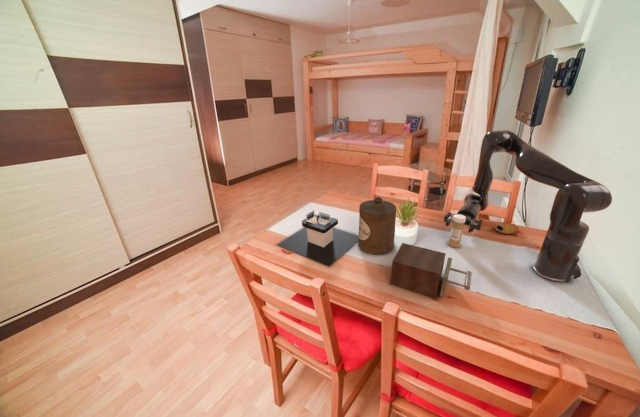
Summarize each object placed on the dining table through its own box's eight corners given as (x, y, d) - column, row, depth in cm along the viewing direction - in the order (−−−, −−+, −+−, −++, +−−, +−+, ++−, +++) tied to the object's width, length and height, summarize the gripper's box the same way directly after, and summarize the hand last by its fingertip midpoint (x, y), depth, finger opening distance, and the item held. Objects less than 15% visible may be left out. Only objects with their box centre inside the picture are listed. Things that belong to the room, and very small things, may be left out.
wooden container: (357, 236, 120) (358, 191, 111) (390, 236, 119) (393, 190, 110) (359, 254, 106) (361, 205, 97) (396, 255, 105) (401, 205, 96)
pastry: (509, 226, 123) (512, 218, 121) (522, 233, 117) (524, 225, 115) (492, 228, 121) (494, 221, 120) (504, 235, 115) (506, 228, 114)
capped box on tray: (362, 237, 119) (363, 210, 113) (329, 266, 100) (328, 236, 94) (313, 221, 134) (312, 197, 129) (277, 244, 115) (273, 217, 110)
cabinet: (441, 275, 93) (445, 253, 89) (435, 298, 83) (440, 274, 79) (400, 264, 100) (402, 242, 96) (390, 284, 90) (392, 261, 86)
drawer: (468, 282, 88) (473, 263, 85) (466, 304, 79) (471, 284, 76) (408, 265, 97) (410, 247, 94) (400, 284, 88) (402, 265, 85)
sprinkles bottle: (462, 245, 110) (468, 216, 104) (455, 249, 107) (462, 219, 102) (451, 240, 113) (457, 212, 108) (445, 244, 111) (451, 215, 105)
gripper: (452, 202, 122) (441, 215, 111) (487, 210, 114) (479, 224, 103) (449, 217, 125) (439, 230, 114) (483, 225, 117) (475, 240, 106)
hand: (458, 227), depth 108 cm, fingers open, 8 cm apart
